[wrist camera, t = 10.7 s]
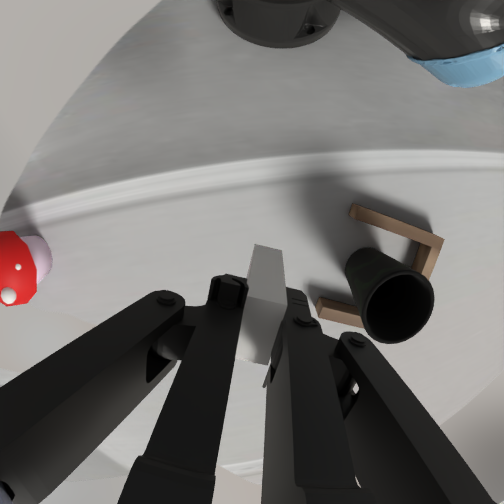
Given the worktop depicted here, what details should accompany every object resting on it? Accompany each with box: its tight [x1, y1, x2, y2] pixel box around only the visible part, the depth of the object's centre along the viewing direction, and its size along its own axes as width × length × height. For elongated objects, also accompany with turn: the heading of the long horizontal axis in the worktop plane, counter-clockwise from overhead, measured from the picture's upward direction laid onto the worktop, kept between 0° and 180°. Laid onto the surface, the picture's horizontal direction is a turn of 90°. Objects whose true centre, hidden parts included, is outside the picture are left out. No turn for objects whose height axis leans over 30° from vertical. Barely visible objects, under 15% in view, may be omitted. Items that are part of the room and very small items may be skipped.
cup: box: [345, 248, 434, 344], centre depth 32 cm, size 8×8×12 cm
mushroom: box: [0, 231, 52, 306], centre depth 34 cm, size 11×11×12 cm
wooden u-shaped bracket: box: [315, 203, 444, 328], centre depth 36 cm, size 14×12×3 cm
